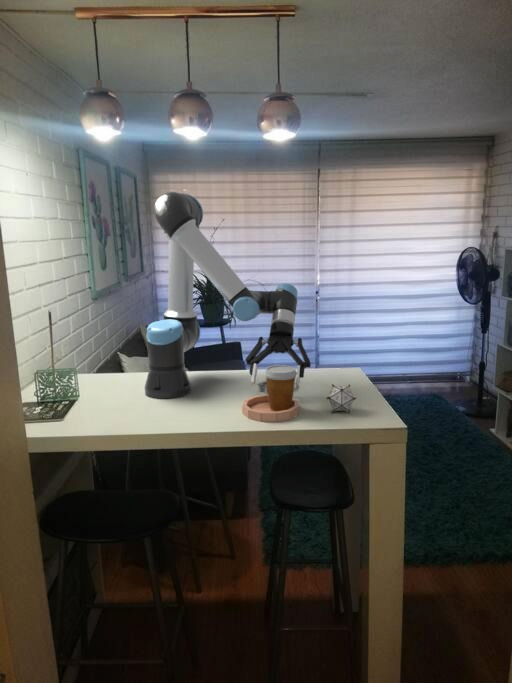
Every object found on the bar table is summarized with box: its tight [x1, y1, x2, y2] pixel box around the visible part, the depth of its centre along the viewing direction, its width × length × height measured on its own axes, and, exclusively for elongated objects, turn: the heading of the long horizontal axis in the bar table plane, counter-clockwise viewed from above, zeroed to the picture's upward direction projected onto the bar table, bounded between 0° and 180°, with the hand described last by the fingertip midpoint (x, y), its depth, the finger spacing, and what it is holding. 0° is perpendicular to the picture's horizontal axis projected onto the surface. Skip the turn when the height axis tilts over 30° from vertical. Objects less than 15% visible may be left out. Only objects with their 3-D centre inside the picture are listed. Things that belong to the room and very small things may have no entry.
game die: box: [325, 383, 357, 414], centre depth 149 cm, size 9×8×10 cm
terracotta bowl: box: [241, 394, 300, 423], centre depth 150 cm, size 16×16×2 cm
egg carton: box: [255, 380, 268, 395], centre depth 171 cm, size 11×8×4 cm
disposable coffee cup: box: [263, 364, 297, 411], centre depth 150 cm, size 10×10×12 cm
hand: (274, 385), depth 154 cm, fingers open, 13 cm apart
